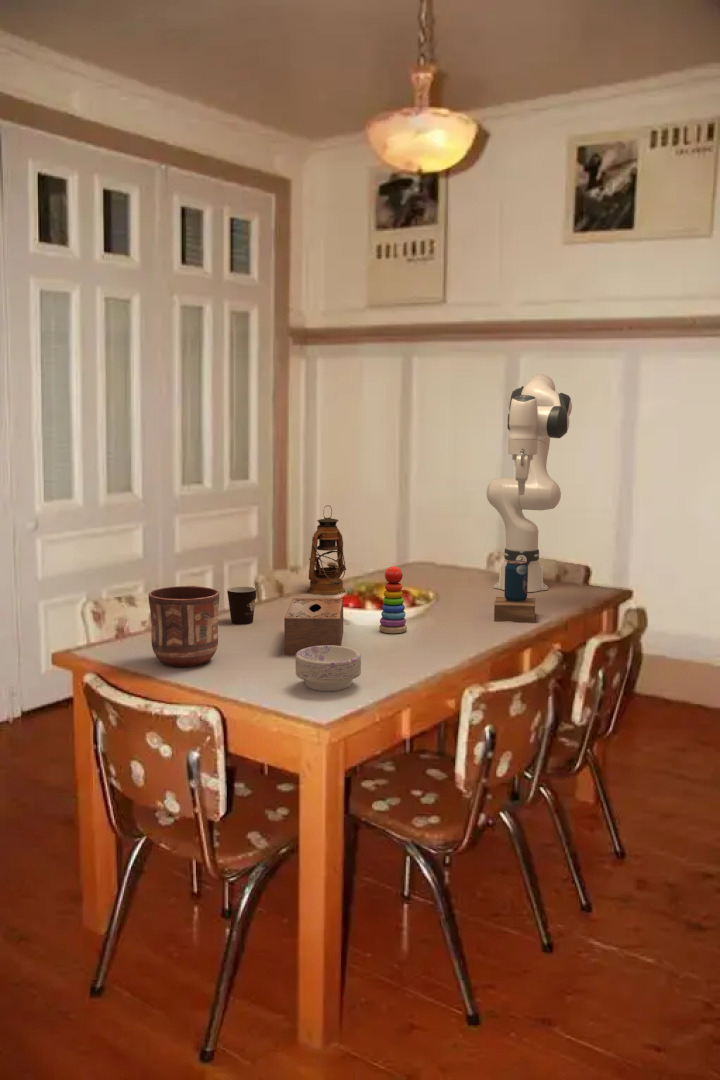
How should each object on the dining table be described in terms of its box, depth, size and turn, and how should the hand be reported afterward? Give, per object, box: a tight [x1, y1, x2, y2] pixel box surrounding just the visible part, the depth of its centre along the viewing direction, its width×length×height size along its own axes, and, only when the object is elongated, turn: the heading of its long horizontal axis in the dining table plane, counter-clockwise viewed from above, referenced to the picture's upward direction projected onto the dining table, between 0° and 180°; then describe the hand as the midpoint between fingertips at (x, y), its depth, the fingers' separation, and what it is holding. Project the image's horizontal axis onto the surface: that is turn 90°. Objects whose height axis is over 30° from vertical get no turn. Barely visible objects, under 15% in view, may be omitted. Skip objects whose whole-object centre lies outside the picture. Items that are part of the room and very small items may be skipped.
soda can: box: [503, 560, 528, 602], centre depth 298 cm, size 7×7×12 cm
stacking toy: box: [378, 566, 408, 635], centre depth 279 cm, size 8×8×19 cm
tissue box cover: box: [283, 597, 344, 656], centre depth 267 cm, size 26×14×10 cm, turn 179°
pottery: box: [148, 585, 220, 668], centre depth 247 cm, size 18×18×18 cm
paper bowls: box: [294, 645, 362, 692], centre depth 227 cm, size 15×15×8 cm
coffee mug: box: [226, 586, 257, 626], centre depth 292 cm, size 12×9×10 cm
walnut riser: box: [493, 596, 536, 624], centre depth 298 cm, size 12×12×5 cm
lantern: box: [307, 505, 347, 596], centre depth 336 cm, size 17×13×30 cm
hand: (521, 493), depth 302 cm, fingers open, 8 cm apart
